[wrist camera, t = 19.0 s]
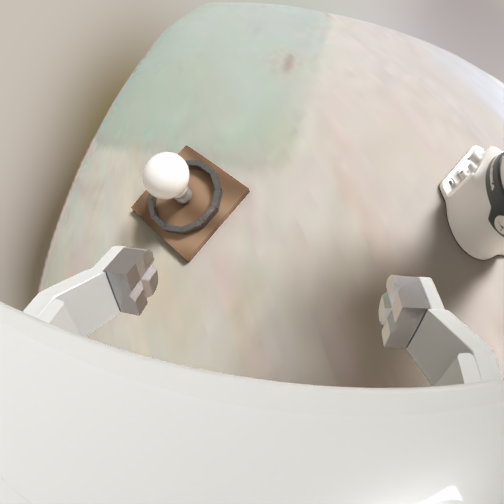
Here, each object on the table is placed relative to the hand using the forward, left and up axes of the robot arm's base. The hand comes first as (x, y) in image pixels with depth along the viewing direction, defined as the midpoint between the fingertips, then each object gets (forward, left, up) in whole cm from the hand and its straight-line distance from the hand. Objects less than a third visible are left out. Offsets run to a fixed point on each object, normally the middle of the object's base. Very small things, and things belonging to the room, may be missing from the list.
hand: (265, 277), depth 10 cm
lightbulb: (-3, -22, -30) cm, 37 cm away
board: (-2, -22, -31) cm, 38 cm away
